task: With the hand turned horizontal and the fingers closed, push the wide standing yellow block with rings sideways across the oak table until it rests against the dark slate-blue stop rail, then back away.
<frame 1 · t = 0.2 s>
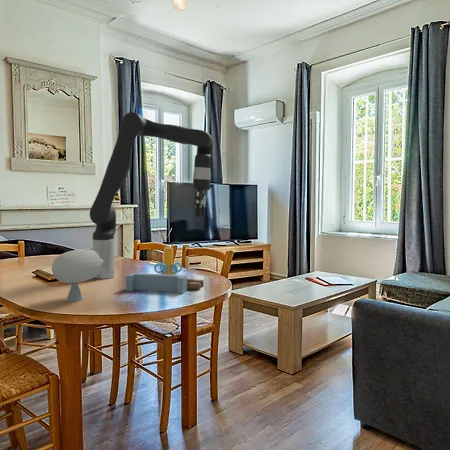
hand: (199, 216, 175), 29 cm above the table, tool pointing down, fingers open, 8 cm apart
yellow block with rings: (168, 283, 173), on the table
roller a: (193, 286, 167), on the table
roller b: (189, 289, 161), on the table
stop rail: (157, 289, 159), on the table
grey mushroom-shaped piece: (81, 298, 144), on the table
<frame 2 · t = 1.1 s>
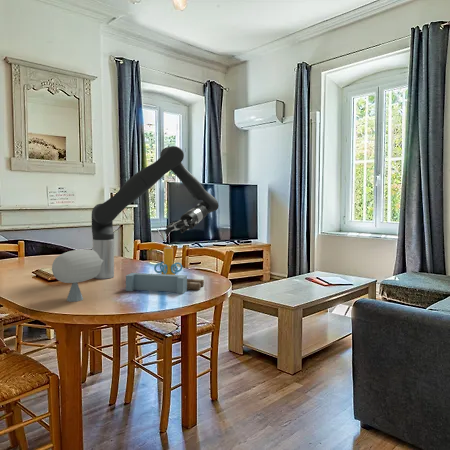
hand: (173, 231, 179), 21 cm above the table, tool tilted 70°, fingers open, 8 cm apart
roller a: (193, 286, 167), on the table, tilted 12°
everything else where it was.
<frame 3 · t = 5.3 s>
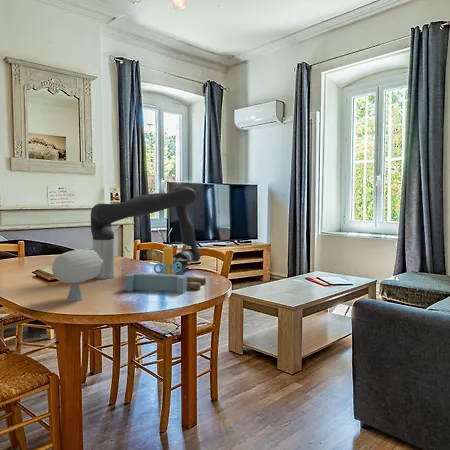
hand: (172, 264, 178), 7 cm above the table, tool horizontal, fingers closed
yellow block with rings: (168, 283, 173), on the table, touching gripper
roller a: (196, 277, 172), point 3 cm above the table, tilted 175°
everything else where it was.
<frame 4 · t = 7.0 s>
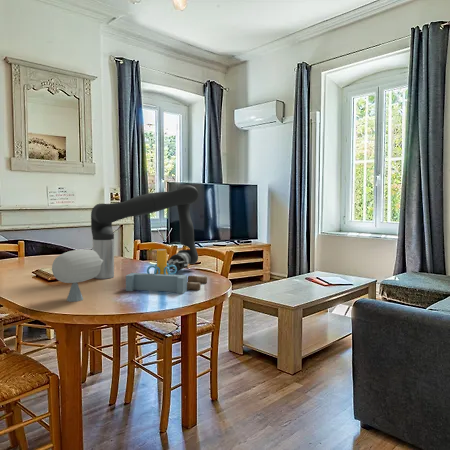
hand: (168, 267, 172), 7 cm above the table, tool horizontal, fingers closed
yellow block with rings: (162, 286, 166), on the table, touching gripper, stop rail
roller a: (198, 280, 176), point 1 cm above the table, tilted 59°
everything else where it was.
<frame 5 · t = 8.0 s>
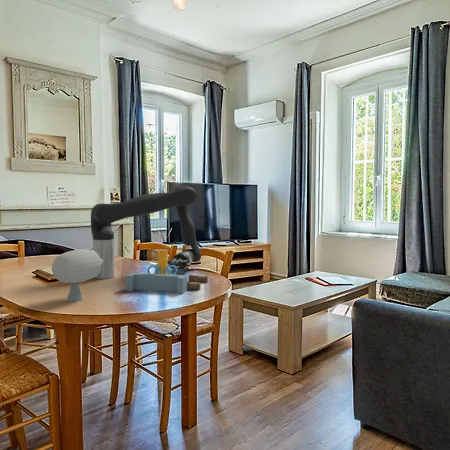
hand: (171, 266, 177), 6 cm above the table, tool horizontal, fingers closed
yellow block with rings: (162, 286, 166), on the table
roller a: (198, 282, 176), on the table
everything else where it was.
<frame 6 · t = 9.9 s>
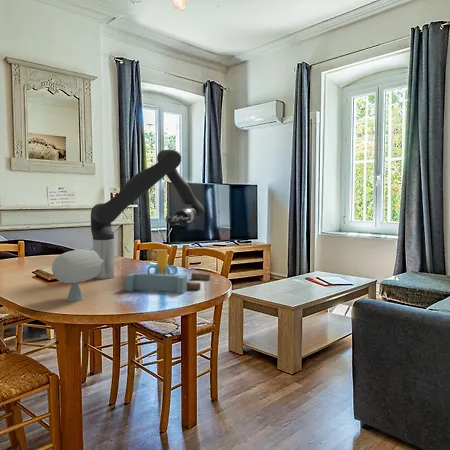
hand: (171, 223, 181), 25 cm above the table, tool horizontal, fingers closed
roller a: (201, 273, 182), point 3 cm above the table, tilted 146°
everything else where it was.
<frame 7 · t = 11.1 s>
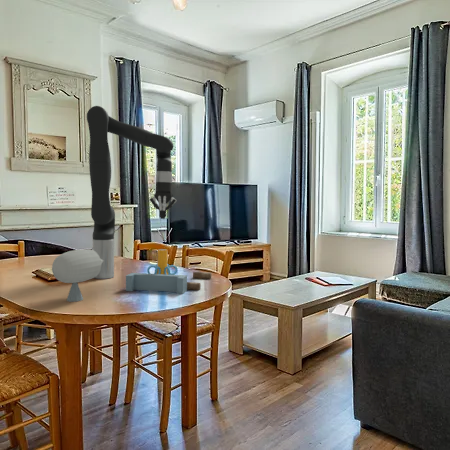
hand: (162, 218, 190), 27 cm above the table, tool pointing down, fingers closed
roller a: (202, 278, 185), on the table, tilted 32°
everything else where it was.
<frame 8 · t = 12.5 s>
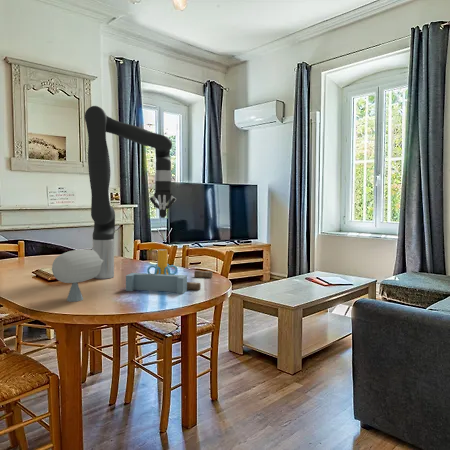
hand: (163, 217, 189), 27 cm above the table, tool pointing down, fingers closed
roller a: (202, 275, 185), point 1 cm above the table, tilted 81°
everything else where it was.
at the end: yellow block with rings inside the target area (0.4 cm from its centre), on the table; yellow block with rings tilted 0°; yellow block with rings moved 6.9 cm from its start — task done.
